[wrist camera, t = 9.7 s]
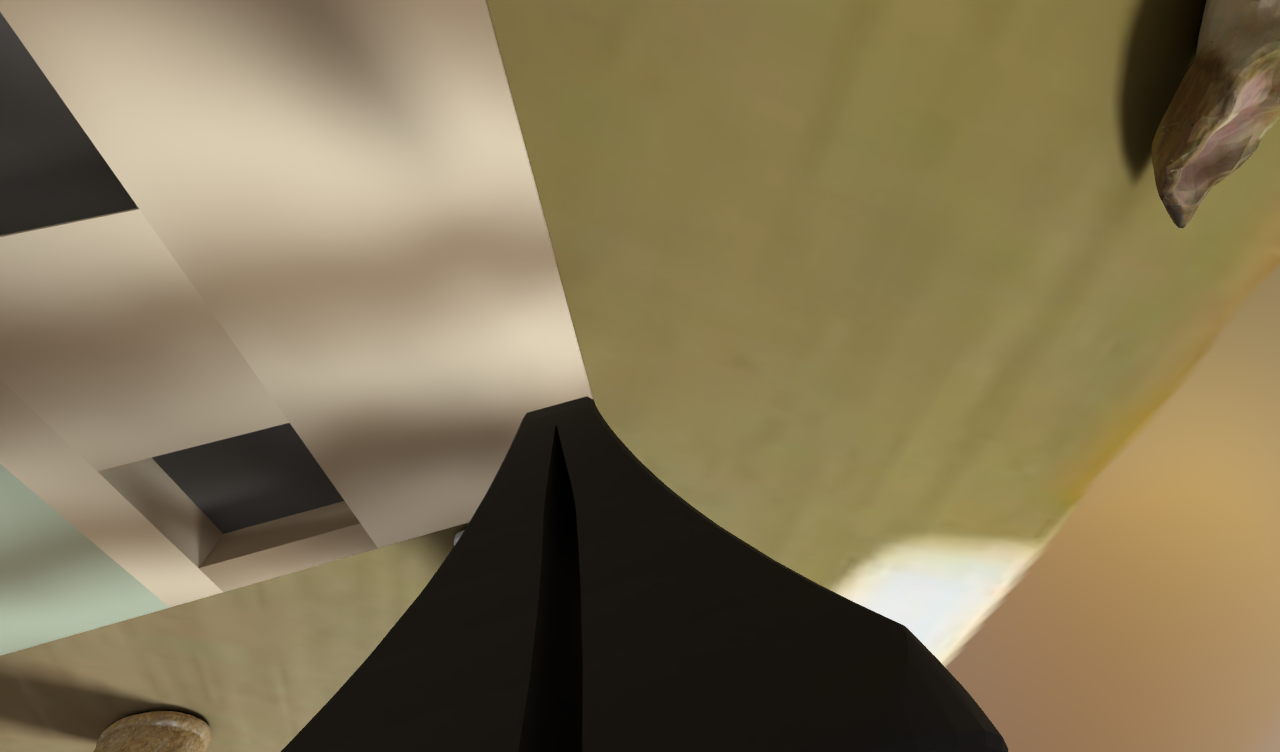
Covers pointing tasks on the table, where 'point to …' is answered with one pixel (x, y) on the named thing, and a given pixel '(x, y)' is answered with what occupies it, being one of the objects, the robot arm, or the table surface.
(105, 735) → the spice jar
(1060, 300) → the table surface
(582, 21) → the table surface
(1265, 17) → the ceramic sculpture
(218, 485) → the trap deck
